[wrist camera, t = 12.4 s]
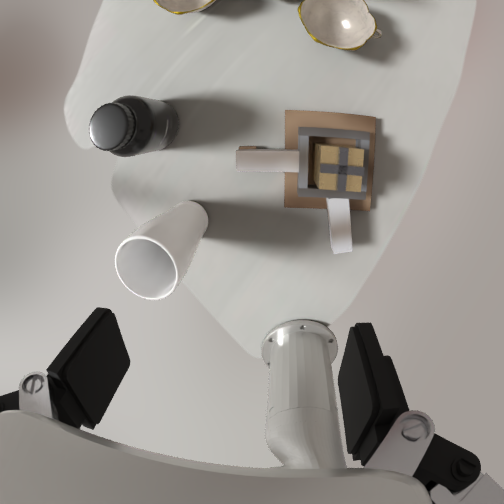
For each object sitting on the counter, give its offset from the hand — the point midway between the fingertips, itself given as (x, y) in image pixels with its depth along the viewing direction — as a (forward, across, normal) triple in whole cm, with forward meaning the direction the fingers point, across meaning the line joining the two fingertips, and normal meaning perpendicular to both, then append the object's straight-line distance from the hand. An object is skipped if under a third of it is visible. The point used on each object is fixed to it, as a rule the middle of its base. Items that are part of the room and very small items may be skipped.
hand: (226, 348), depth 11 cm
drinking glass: (+28, +10, +4) cm, 30 cm away
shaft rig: (+28, -5, -1) cm, 29 cm away
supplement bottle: (+28, +14, -9) cm, 33 cm away
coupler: (+27, -8, -4) cm, 29 cm away
